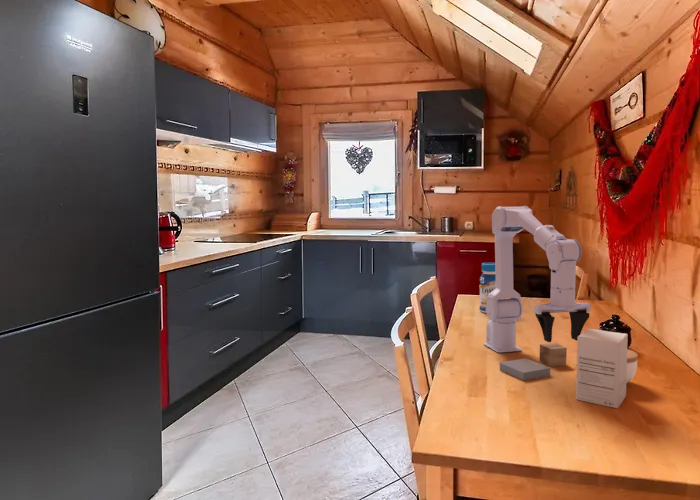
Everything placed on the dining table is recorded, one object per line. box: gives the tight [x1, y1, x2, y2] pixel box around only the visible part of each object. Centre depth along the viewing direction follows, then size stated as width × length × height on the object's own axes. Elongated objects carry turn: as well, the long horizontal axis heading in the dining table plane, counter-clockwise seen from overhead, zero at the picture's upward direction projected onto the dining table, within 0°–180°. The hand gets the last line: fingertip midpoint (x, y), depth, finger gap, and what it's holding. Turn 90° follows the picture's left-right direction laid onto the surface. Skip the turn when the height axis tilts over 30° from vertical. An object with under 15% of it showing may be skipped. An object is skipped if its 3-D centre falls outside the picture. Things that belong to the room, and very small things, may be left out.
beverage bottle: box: [478, 262, 496, 314], centre depth 206 cm, size 8×8×20 cm
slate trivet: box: [499, 357, 551, 381], centre depth 133 cm, size 9×9×2 cm
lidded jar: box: [626, 348, 639, 384], centre depth 125 cm, size 11×11×9 cm
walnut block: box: [538, 342, 568, 368], centre depth 141 cm, size 5×5×5 cm
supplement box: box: [575, 328, 629, 409], centre depth 115 cm, size 9×9×15 cm
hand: (561, 340), depth 127 cm, fingers open, 7 cm apart
